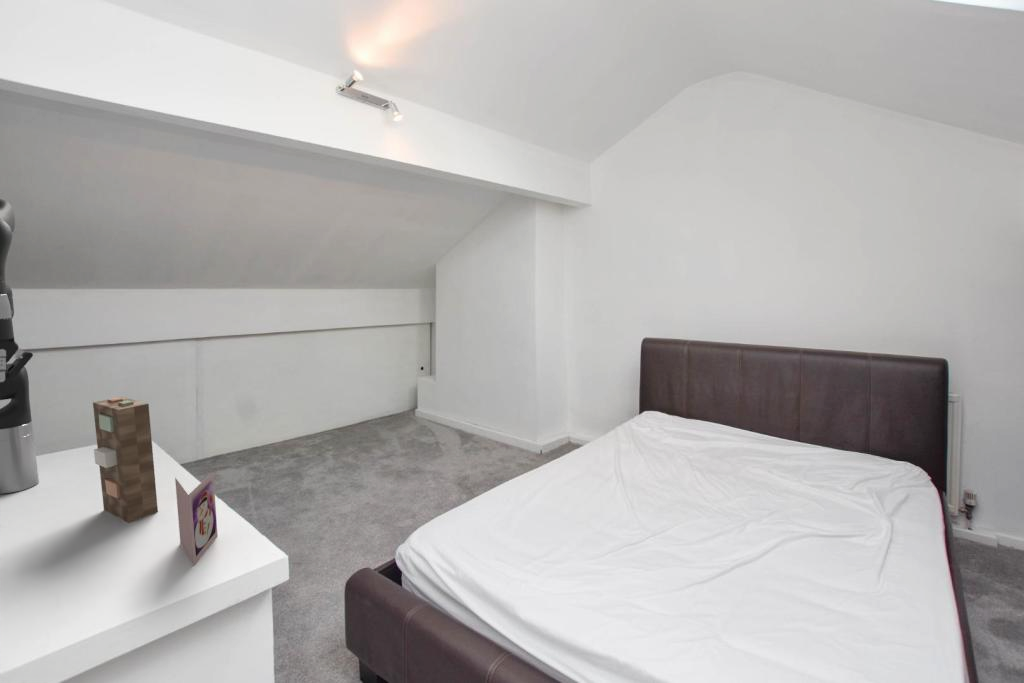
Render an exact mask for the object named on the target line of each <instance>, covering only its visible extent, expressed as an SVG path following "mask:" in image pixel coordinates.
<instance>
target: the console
mask: <svg viewBox="0 0 1024 683" xmlns="http://www.w3.org/2000/svg"><path fill="white" fill-rule="evenodd" d="M149 405H150V404H149V403H147V402H143V401H140V400H135V399H131V398H127V397H124V396H123V397H114V398H108V399H104V400H100V401H93V402H92V406H93V407H92V408H93V417H94V424H95V425H94V426H95V436H96V445H97V449H98V448H102V447H109V448H112V449H114V450H116V456H117V465H115V466H112V467H108V468H105V467H103V466H100V465H99V474H100V483H101V484H100V485H101V494H102V504H103V511H104V512H107V513H109V514H110V515H112V516H115V517H117V518H119V519H121V520H123V521H125V522H127V523H132V522H135V521H137V520H140V519H143V518H145V517H147V516H151V515H154V514H156V513H159V510H158V499H157V488H156V487H157V486H156V475H155V462H154V452H153V440H152V430H151V417H150V406H149ZM99 414H106V415H110V416H113V425H114V432H109V431H106V430H103V429H100V424H99ZM107 479H111V480H113V481H115V482H118V483H119V487H120V497H121V498H118V499H117V498H115V497H113V496H111V495H109V494H107V493H106V483H105V480H107Z"/></svg>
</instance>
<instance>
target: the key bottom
mask: <svg viewBox="0 0 1024 683" xmlns="http://www.w3.org/2000/svg"><path fill="white" fill-rule="evenodd" d="M105 483H106V493H107V494H109V495H111V496H113V497H115V498H117V499H118V498H121V497H120V487H119V483H118V482H115V481H113V480H111V479H107V480H105Z"/></svg>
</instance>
